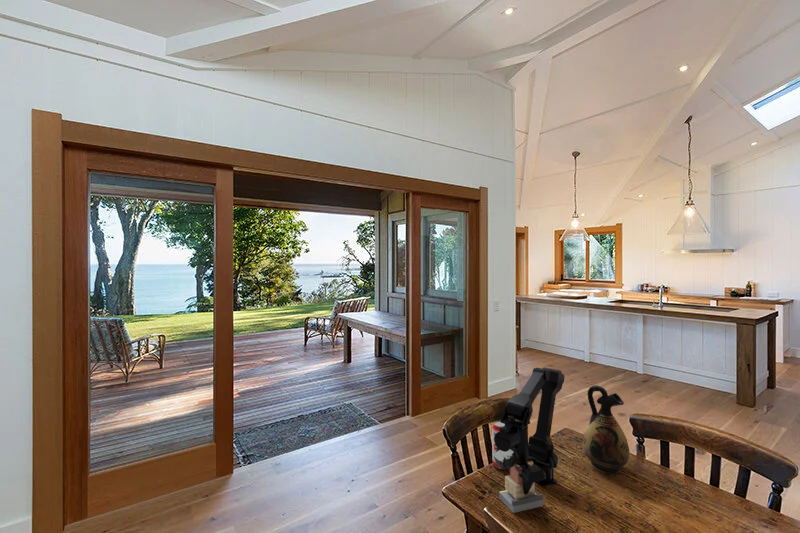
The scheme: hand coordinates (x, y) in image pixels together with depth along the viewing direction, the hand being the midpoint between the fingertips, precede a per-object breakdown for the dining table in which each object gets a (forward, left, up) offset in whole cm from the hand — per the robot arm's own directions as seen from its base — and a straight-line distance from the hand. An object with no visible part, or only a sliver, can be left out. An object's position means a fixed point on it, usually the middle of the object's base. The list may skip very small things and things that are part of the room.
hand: (519, 488), depth 119 cm
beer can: (-6, -20, -4) cm, 22 cm away
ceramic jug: (-42, -7, -4) cm, 43 cm away
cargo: (0, 0, +3) cm, 3 cm away
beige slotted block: (0, 0, -1) cm, 1 cm away
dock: (0, +1, -4) cm, 4 cm away
